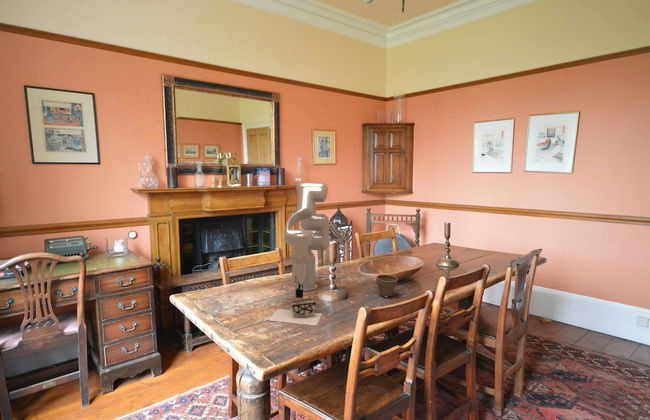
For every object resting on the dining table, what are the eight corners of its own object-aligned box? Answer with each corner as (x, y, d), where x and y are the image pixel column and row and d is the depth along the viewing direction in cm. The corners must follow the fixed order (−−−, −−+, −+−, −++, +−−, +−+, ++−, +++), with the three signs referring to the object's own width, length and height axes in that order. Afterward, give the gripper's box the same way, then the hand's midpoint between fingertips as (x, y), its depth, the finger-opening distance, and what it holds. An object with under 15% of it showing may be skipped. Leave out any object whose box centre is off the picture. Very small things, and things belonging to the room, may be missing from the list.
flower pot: (401, 297, 194) (402, 279, 192) (384, 300, 189) (384, 282, 187) (388, 290, 204) (389, 273, 203) (371, 293, 199) (372, 275, 197)
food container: (289, 314, 172) (291, 319, 162) (289, 301, 173) (290, 305, 163) (315, 311, 175) (318, 315, 165) (314, 298, 175) (317, 302, 165)
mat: (277, 309, 173) (277, 308, 173) (322, 314, 169) (322, 313, 169) (268, 320, 161) (268, 320, 161) (316, 326, 157) (316, 325, 157)
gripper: (296, 254, 175) (295, 291, 178) (287, 262, 161) (287, 302, 163) (311, 256, 174) (310, 292, 176) (303, 264, 159) (303, 303, 162)
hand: (299, 297), depth 170 cm, fingers closed
